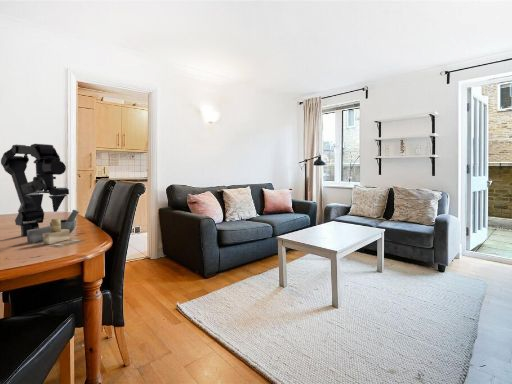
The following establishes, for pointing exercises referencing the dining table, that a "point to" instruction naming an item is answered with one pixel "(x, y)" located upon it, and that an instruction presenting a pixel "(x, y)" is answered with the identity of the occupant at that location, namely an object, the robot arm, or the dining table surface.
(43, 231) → the base
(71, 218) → the mortar and pestle
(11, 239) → the dining table surface
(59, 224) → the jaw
